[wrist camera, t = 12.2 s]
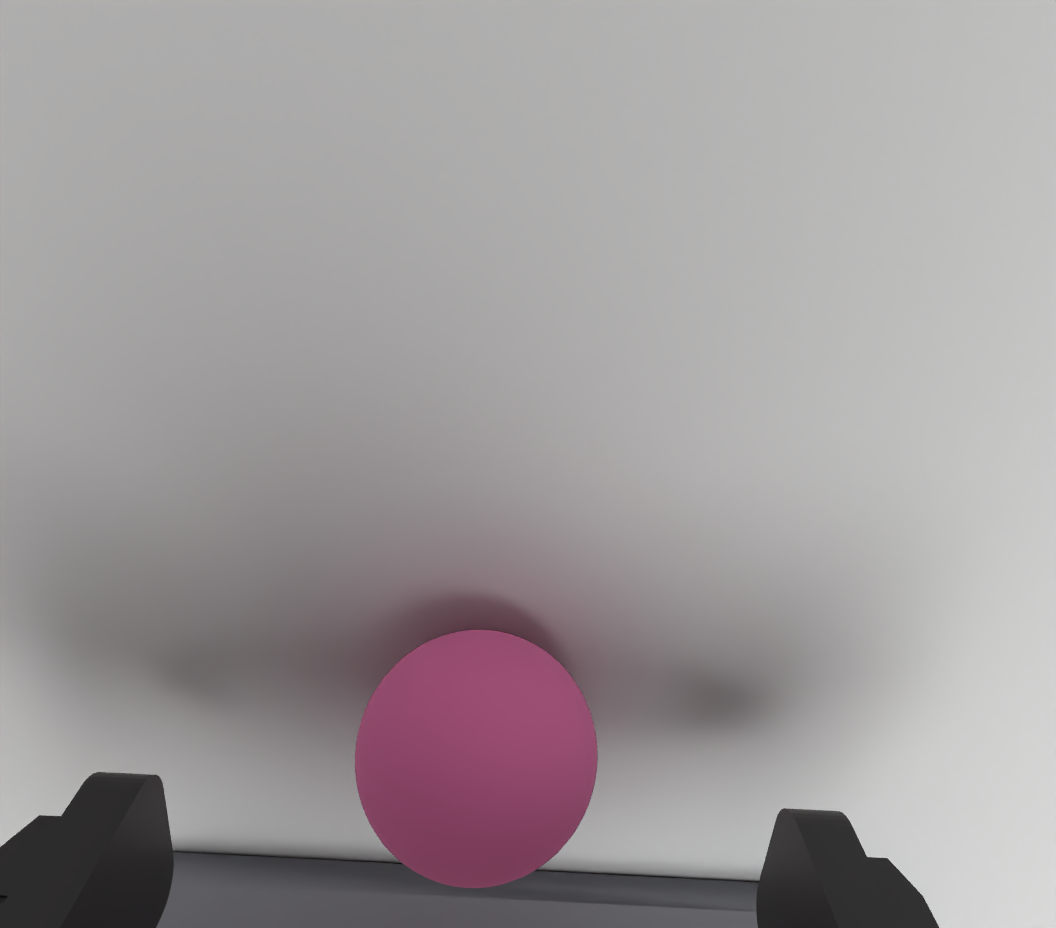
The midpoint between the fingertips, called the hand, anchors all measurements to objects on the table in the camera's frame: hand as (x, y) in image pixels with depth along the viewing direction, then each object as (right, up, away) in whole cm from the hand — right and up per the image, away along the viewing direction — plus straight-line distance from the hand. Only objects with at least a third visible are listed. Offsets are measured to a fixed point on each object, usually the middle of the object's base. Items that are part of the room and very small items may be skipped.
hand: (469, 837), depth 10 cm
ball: (0, +1, +1) cm, 1 cm away
